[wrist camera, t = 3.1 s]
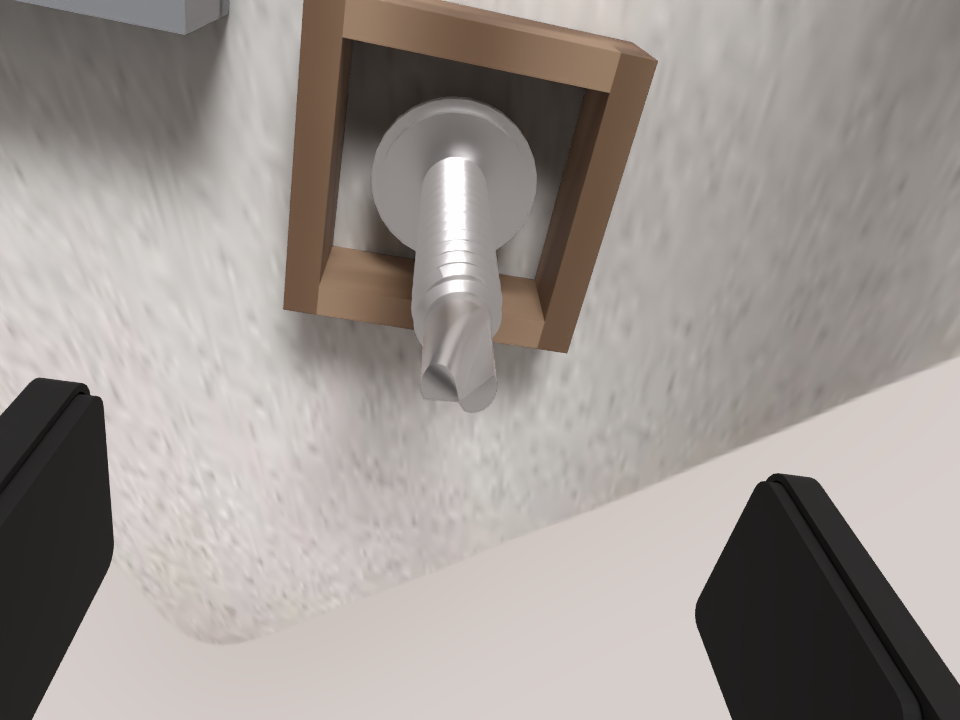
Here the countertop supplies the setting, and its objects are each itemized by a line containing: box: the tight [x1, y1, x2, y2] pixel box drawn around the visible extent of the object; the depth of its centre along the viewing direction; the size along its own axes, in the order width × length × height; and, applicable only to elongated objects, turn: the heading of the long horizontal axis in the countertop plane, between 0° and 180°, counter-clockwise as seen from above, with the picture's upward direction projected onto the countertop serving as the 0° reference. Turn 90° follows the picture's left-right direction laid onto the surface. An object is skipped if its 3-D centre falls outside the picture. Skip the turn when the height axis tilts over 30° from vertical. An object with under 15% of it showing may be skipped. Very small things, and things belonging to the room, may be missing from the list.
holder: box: [283, 0, 658, 353], centre depth 22 cm, size 9×9×3 cm
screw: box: [371, 96, 537, 413], centre depth 17 cm, size 13×5×5 cm
